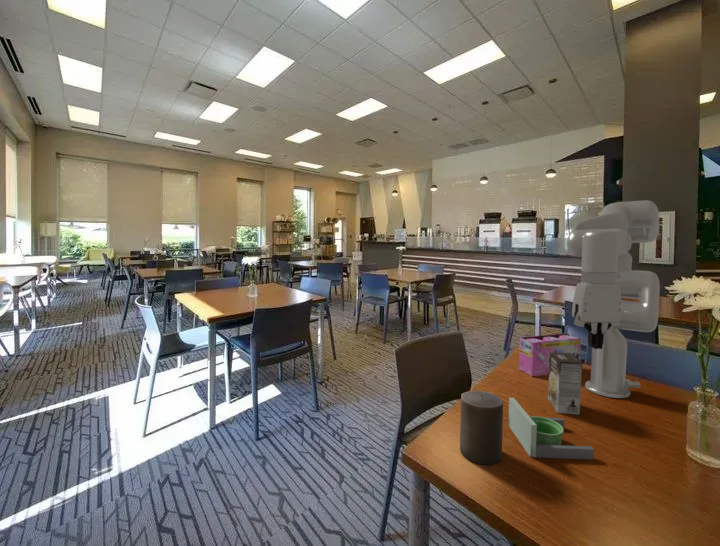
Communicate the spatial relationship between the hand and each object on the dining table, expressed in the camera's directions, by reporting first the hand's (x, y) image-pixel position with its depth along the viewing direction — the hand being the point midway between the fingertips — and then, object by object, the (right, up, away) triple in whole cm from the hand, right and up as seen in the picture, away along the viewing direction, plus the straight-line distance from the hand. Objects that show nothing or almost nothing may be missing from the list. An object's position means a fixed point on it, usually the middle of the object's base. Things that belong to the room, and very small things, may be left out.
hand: (595, 347), depth 89 cm
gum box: (+13, -20, +46) cm, 52 cm away
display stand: (-14, -24, -2) cm, 28 cm away
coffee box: (+1, -22, +16) cm, 27 cm away
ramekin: (-15, -24, -2) cm, 28 cm away
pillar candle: (-33, -24, -7) cm, 41 cm away
